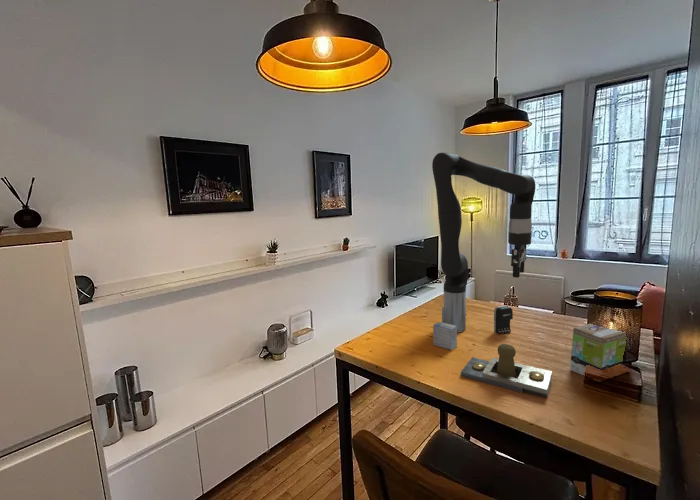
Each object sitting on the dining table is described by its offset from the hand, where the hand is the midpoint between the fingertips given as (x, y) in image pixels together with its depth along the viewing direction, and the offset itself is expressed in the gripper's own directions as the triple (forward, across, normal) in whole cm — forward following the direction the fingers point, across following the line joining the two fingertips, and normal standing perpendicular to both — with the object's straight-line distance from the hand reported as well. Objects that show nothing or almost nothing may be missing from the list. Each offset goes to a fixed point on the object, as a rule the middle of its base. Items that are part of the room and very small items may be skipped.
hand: (518, 274), depth 128 cm
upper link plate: (+28, +26, +5) cm, 39 cm away
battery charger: (+28, -11, -7) cm, 31 cm away
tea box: (+28, +6, +26) cm, 39 cm away
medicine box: (+28, +13, -23) cm, 39 cm away
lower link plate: (+28, +26, -1) cm, 38 cm away
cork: (+28, +26, +2) cm, 38 cm away
